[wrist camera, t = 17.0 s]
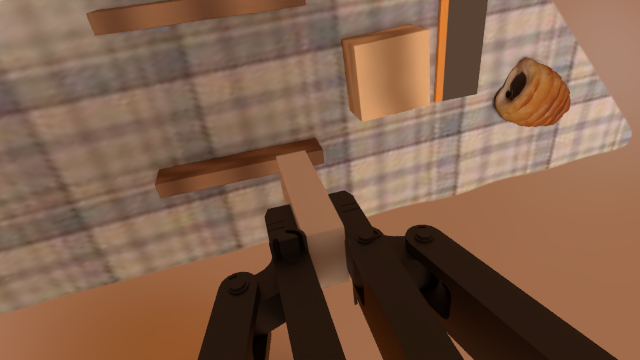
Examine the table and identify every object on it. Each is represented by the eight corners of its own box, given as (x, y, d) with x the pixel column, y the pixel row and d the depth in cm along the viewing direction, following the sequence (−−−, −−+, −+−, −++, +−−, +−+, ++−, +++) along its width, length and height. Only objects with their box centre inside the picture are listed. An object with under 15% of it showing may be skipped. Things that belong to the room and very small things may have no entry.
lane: (164, 182, 37) (160, 198, 34) (97, 10, 29) (86, 13, 26) (317, 150, 39) (324, 163, 37) (296, -17, 31) (303, -17, 28)
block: (349, 108, 38) (362, 122, 35) (340, 39, 34) (354, 46, 31) (411, 93, 39) (429, 104, 36) (409, 23, 35) (429, 29, 32)
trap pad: (433, 101, 40) (435, 102, 39) (439, 0, 35) (441, 0, 34) (475, 93, 40) (477, 94, 40) (486, -7, 35) (488, -7, 35)
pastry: (571, 83, 43) (599, 93, 40) (535, 133, 46) (559, 146, 43) (518, 53, 40) (545, 60, 36) (483, 109, 42) (505, 120, 39)
